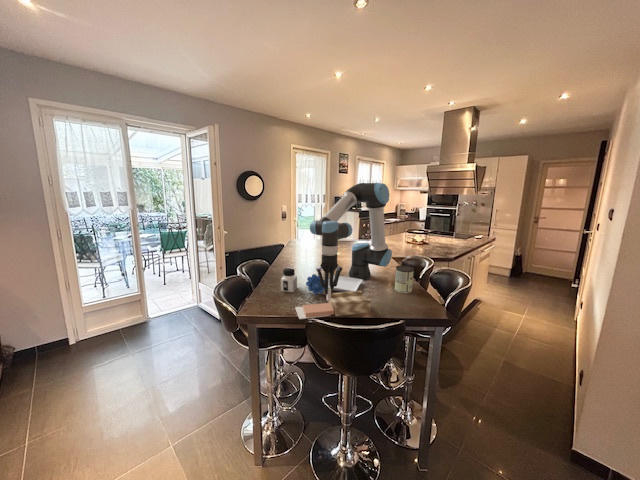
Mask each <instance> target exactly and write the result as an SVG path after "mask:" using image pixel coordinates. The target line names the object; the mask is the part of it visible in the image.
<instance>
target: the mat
mask: <svg viewBox="0 0 640 480" xmlns="http://www.w3.org/2000/svg"><path fill="white" fill-rule="evenodd" d="M294 308H295V311H296V314H297V317H298V319H299V320H305V319H315V318H324V317H330V316H331V315H322V316H312V317H305V314H304V311H303V306H296V307H294Z"/></svg>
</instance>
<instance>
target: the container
mask: <svg viewBox="0 0 640 480" xmlns="http://www.w3.org/2000/svg"><path fill="white" fill-rule="evenodd" d="M295 271H296V270H295V269H294V268H293V267H285V268H284V269H283V274H282V275H283V276H282V277H281V278H280V291H281V292H283V293H284V292H285V293H294V292H295V290H297V288H298V277H297V275H295V273H296V272H295Z"/></svg>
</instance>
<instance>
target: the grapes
mask: <svg viewBox="0 0 640 480" xmlns="http://www.w3.org/2000/svg"><path fill="white" fill-rule="evenodd" d="M306 279H307V281H306V283H305V285H306V287H308V288H307V290H308V292H312V293H313V294H314V295H317V294H323V292H324V291H325V288H323V287H322V286H321V283H320V279H319V275H316V274H315V273H313V274H312V275H311V276H308V277H307V278H306ZM323 281H324V283H325V279H323Z"/></svg>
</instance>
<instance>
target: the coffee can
mask: <svg viewBox="0 0 640 480" xmlns="http://www.w3.org/2000/svg"><path fill="white" fill-rule="evenodd" d="M414 270H415V268H414V267H412V266H409V265H397V266H395V279H394V291H396V292H398V293H400V294H401V293H402V294H410V293H412V292H413V283H414V282H413V281H414V272H415V271H414Z"/></svg>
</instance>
